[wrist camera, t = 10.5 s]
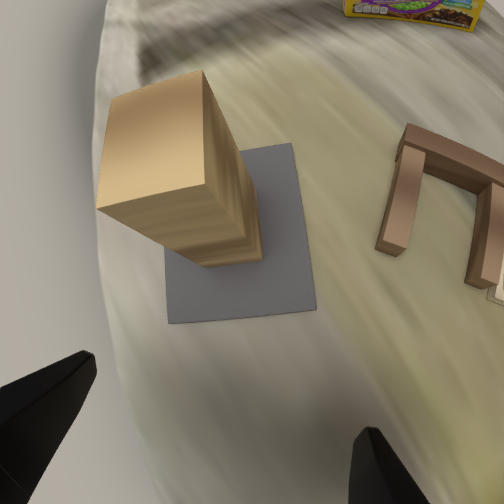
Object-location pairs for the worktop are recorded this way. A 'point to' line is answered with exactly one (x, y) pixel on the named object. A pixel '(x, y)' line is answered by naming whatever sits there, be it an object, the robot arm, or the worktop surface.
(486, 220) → the rack
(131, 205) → the tall oak offcut
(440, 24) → the candy box
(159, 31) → the worktop surface
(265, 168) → the mat
